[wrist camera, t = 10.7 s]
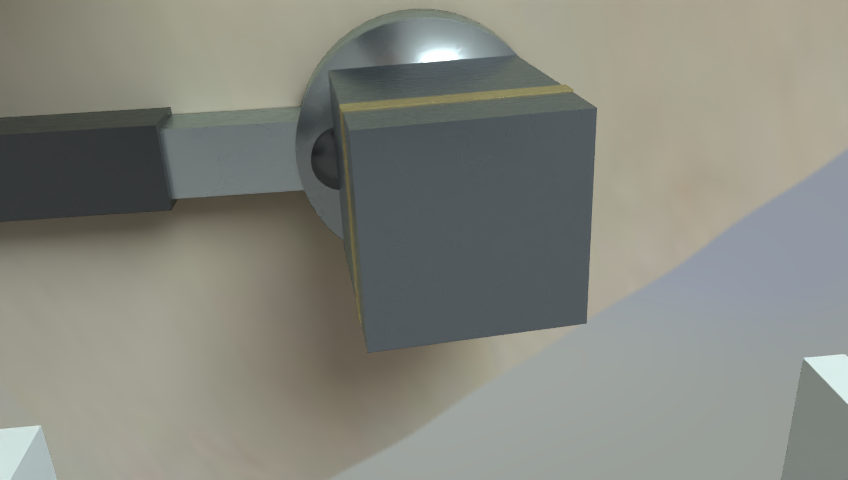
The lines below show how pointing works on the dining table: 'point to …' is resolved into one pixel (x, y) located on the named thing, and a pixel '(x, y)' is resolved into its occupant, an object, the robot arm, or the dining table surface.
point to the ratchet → (214, 136)
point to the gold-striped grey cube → (463, 198)
